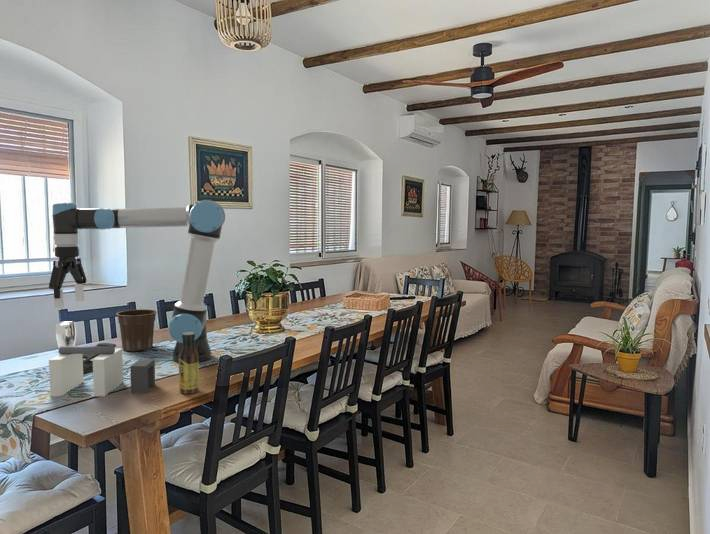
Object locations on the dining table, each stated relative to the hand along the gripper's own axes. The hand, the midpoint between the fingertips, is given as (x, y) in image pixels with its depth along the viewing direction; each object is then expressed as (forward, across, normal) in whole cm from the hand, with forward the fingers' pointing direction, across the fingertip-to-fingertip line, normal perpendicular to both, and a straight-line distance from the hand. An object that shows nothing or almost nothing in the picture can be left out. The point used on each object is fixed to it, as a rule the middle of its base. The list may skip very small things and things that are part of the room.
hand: (69, 304), depth 180 cm
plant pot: (+26, -35, +9) cm, 45 cm away
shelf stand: (+26, +18, +14) cm, 34 cm away
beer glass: (+26, -17, -12) cm, 33 cm away
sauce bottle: (+26, +20, +48) cm, 58 cm away
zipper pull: (+26, -6, +2) cm, 27 cm away
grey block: (+26, +17, +32) cm, 45 cm away
